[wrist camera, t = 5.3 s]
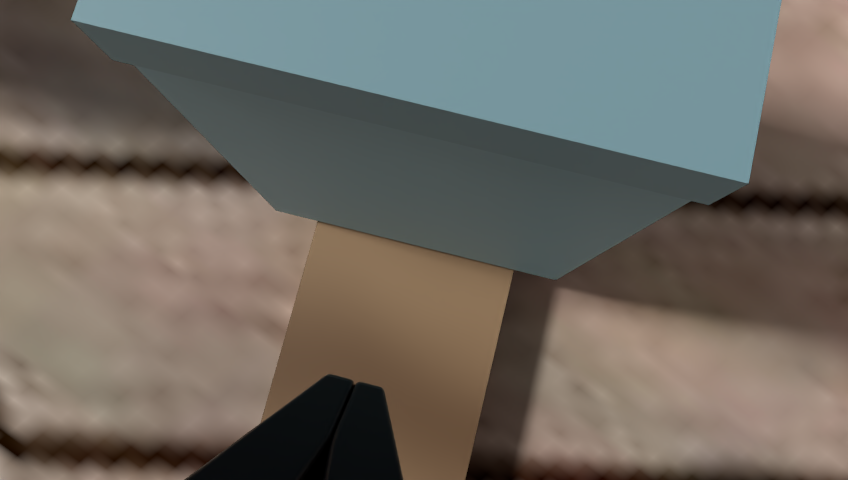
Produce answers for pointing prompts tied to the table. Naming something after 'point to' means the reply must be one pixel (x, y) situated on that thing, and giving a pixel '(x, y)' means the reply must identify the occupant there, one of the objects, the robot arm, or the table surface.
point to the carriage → (464, 110)
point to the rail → (398, 339)
